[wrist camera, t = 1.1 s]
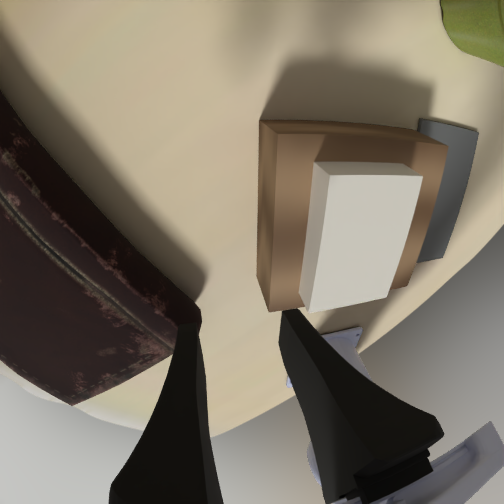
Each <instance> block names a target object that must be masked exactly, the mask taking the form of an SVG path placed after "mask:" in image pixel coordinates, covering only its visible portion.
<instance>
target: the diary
mask: <svg viewBox="0 0 504 504" xmlns="http://www.w3.org/2000/svg"><path fill="white" fill-rule="evenodd" d="M188 323H197V328H198V334H199V331H200V327H201V324H202V317H201V310H200V309H199V307H198V306H197V305H196V304H195V303H194V302H193V301H192V300H191V299H190V298H189V297H188V296H187V295H185V294H184V293H183V292H182V291H181V290H180V289H179V288H177V287H176V286H175V285H174V284H173V283H172V282H171V281H170V280H169V279H167V278H166V277H165V276H164V275H163V274H162V273H161V272H160V271H159V270H158V269H156V268H155V267H154V266H153V265H152V264H151V263H150V262H149V261H148V260H147V259H146V258H145V257H143V256H142V255H141V254H140V253H139V252H138V251H137V250H136V249H135V248H134V247H133V246H132V245H131V244H130V243H129V242H128V240H127V239H126V238H125V237H124V236H123V235H122V234H121V233H120V232H119V231H118V230H117V229H116V228H115V227H114V226H113V225H112V223H111V222H110V221H109V220H108V219H107V218H106V217H105V216H104V215H103V214H102V213H101V212H100V210H99V209H98V208H97V207H96V206H95V205H94V204H93V203H92V201H91V200H90V199H89V198H88V197H87V196H86V195H85V194H84V192H83V191H82V190H81V189H80V188H79V187H78V186H77V185H76V184H75V182H74V181H73V180H72V179H71V178H70V177H69V176H68V175H67V174H66V173H65V172H64V171H63V169H62V168H61V167H60V166H59V165H58V164H57V163H56V162H55V161H54V159H53V158H52V157H51V156H50V155H49V154H48V153H47V151H46V150H45V149H44V148H43V147H42V146H41V144H40V143H39V142H38V141H37V140H36V139H35V137H34V136H33V135H32V134H31V133H30V131H29V130H28V129H27V128H26V126H25V125H24V124H23V122H22V121H21V120H20V118H19V117H18V115H17V114H16V113H15V111H14V110H13V108H12V107H11V105H10V104H9V103H8V101H7V100H6V98H5V97H4V95H3V94H2V92H1V91H0V360H1V361H2V362H3V363H4V364H6V365H7V366H8V367H9V368H11V369H12V370H13V371H14V372H16V373H17V374H18V375H20V376H21V377H23V378H24V379H26V380H28V381H29V382H31V383H32V384H34V385H36V386H37V387H39V388H41V389H42V390H44V391H46V392H48V393H49V394H51V395H53V396H55V397H56V398H58V399H60V400H62V401H64V402H66V403H68V404H69V405H71V406H73V405H75V404H78V403H80V402H82V401H85V400H87V399H89V398H92V397H94V396H96V395H98V394H100V393H103V392H105V391H107V390H109V389H111V388H113V387H115V386H117V385H119V384H121V383H123V382H125V381H127V380H129V379H131V378H132V377H134V376H136V375H138V374H139V373H141V372H143V371H145V370H147V369H148V368H150V367H152V366H154V365H155V364H157V363H159V362H160V361H162V360H164V359H165V358H167V357H169V356H170V355H172V354H173V352H174V348H175V343H176V338H177V332H178V326H179V325H180V324H188Z"/></svg>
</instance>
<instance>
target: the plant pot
mask: <svg viewBox="0 0 504 504" xmlns="http://www.w3.org/2000/svg"><path fill="white" fill-rule="evenodd" d="M441 7H442V9H443V24H444V26H445V29H446V31H447V33H448V35H449V37H450V39H451V40H452V41H453V43H454V44H455V45H456V46H457V47H458V48H459V49H460V50H461V51H463V52H465V53H467V54H470V55H473V56H476V57H479V58H482V59H484V60H487V61H490V62H493V63H495V64H498V65H500V66H502V67H504V0H441Z"/></svg>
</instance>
